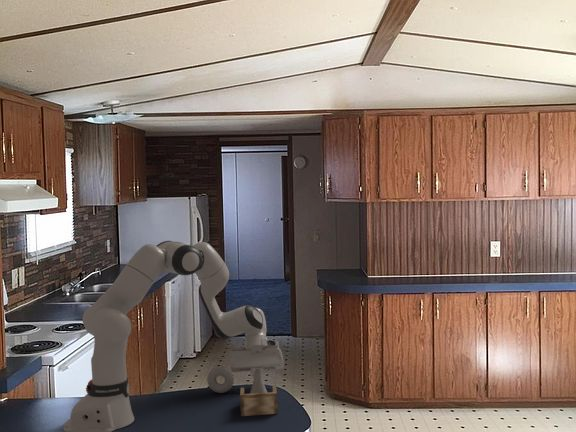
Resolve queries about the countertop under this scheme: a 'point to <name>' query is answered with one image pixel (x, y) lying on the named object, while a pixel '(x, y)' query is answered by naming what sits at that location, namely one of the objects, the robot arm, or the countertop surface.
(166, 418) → the countertop surface
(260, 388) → the flask
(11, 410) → the countertop surface
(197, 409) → the countertop surface
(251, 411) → the wooden arch bench
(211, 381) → the donut
